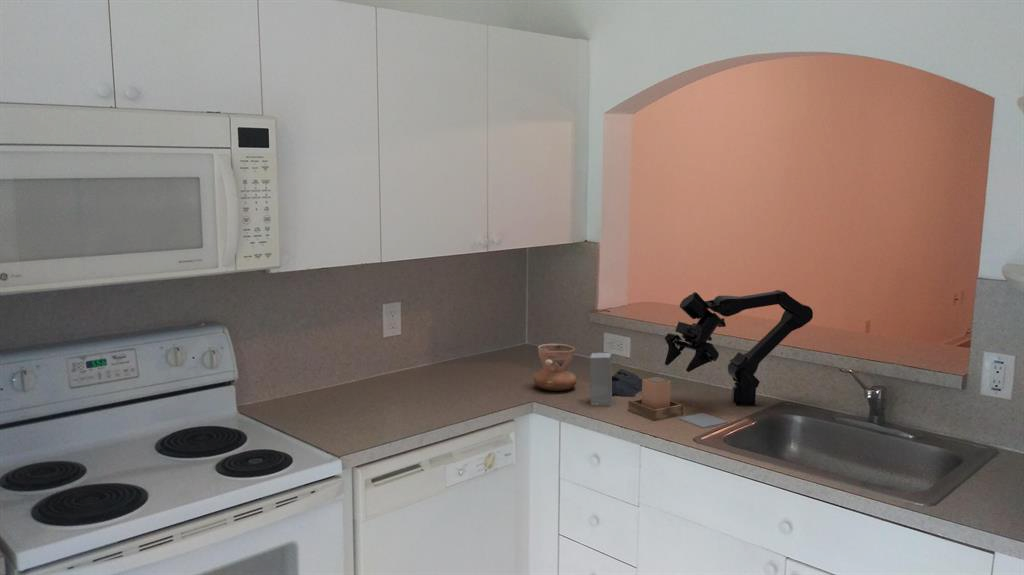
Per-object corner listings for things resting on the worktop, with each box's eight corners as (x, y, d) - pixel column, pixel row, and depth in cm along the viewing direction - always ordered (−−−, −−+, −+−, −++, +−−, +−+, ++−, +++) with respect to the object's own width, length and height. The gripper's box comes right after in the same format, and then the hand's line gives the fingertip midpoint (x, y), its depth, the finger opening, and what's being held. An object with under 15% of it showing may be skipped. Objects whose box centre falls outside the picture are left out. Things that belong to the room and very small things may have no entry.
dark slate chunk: (590, 395, 264) (591, 381, 263) (607, 379, 284) (608, 366, 283) (636, 401, 258) (637, 387, 257) (650, 384, 278) (651, 371, 278)
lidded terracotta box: (656, 408, 247) (657, 376, 246) (669, 413, 242) (671, 380, 241) (641, 411, 244) (642, 378, 243) (654, 416, 239) (656, 383, 238)
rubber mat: (702, 415, 243) (702, 412, 242) (727, 424, 234) (727, 421, 234) (678, 420, 237) (678, 417, 237) (703, 429, 229) (703, 427, 229)
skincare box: (610, 407, 249) (612, 358, 247) (587, 406, 250) (589, 356, 248) (612, 400, 257) (614, 352, 255) (590, 398, 259) (591, 350, 256)
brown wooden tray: (656, 406, 251) (656, 395, 251) (682, 416, 242) (683, 404, 241) (628, 411, 245) (628, 400, 244) (654, 422, 235) (654, 410, 235)
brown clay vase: (567, 397, 260) (569, 354, 258) (526, 391, 265) (527, 349, 263) (583, 384, 277) (585, 344, 275) (544, 379, 282) (545, 340, 280)
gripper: (670, 307, 254) (642, 345, 249) (714, 317, 238) (685, 358, 234) (687, 329, 259) (660, 367, 255) (731, 340, 243) (703, 380, 239)
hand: (676, 367), depth 245 cm, fingers open, 9 cm apart
